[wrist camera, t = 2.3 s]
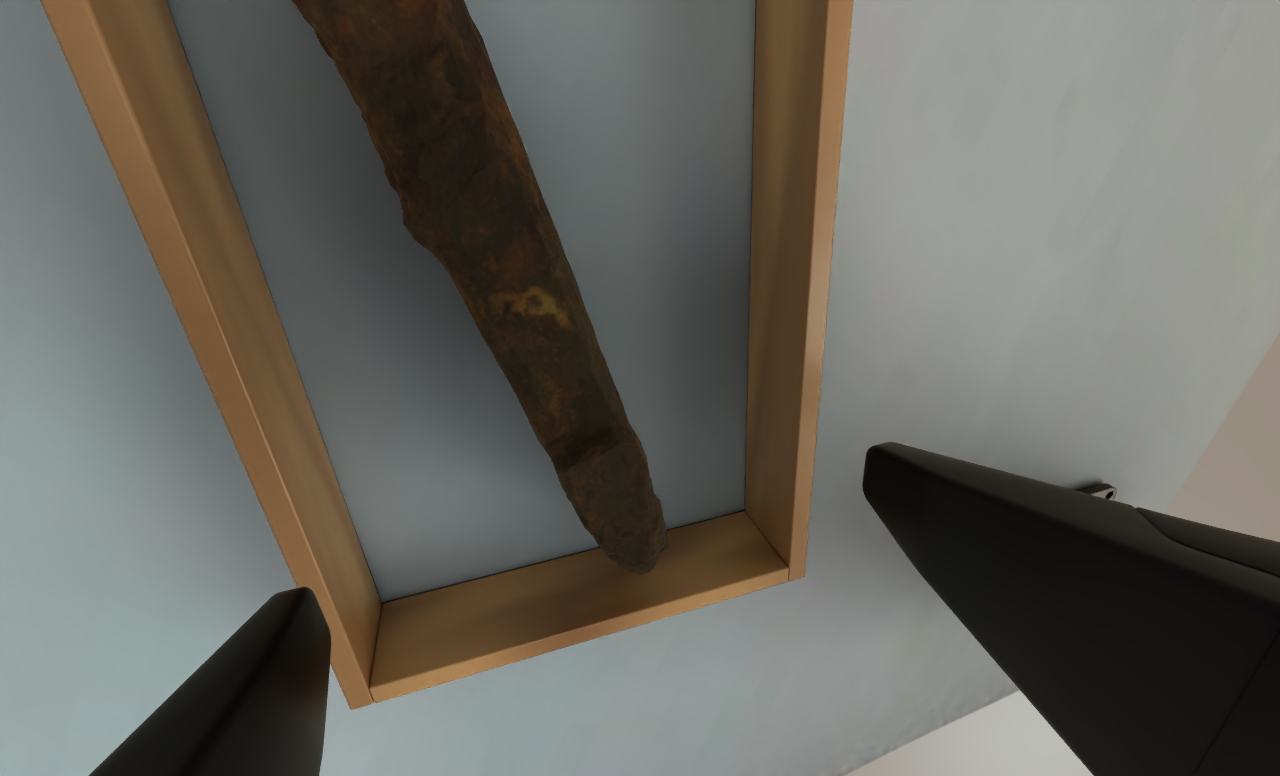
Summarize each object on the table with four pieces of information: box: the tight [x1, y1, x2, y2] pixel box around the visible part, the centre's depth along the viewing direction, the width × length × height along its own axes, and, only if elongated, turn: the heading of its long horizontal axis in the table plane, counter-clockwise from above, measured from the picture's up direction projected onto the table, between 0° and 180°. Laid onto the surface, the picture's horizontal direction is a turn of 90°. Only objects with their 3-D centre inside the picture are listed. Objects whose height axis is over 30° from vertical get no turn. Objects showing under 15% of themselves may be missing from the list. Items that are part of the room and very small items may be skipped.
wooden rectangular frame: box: [40, 0, 853, 710], centre depth 16 cm, size 16×22×4 cm
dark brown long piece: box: [292, 0, 670, 575], centre depth 15 cm, size 19×4×5 cm, turn 16°
